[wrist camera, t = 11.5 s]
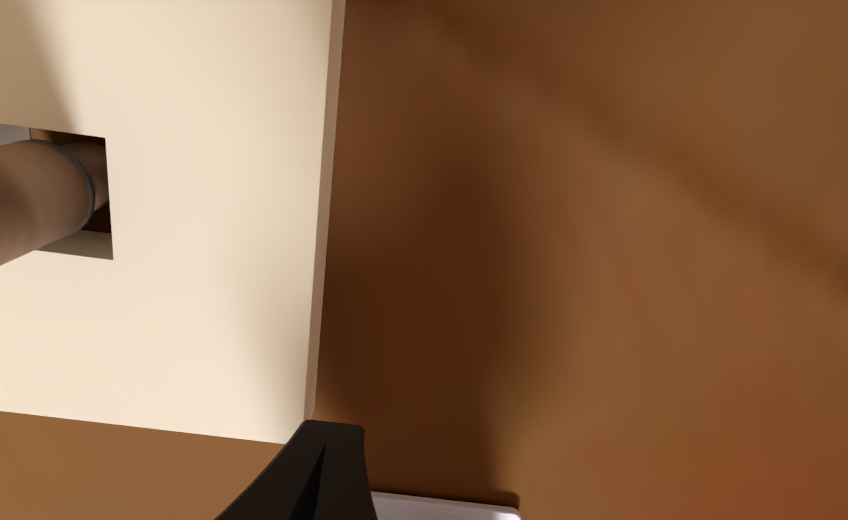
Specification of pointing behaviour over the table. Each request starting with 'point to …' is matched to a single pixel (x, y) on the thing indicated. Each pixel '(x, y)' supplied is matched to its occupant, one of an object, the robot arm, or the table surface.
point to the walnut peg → (48, 192)
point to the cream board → (176, 212)
